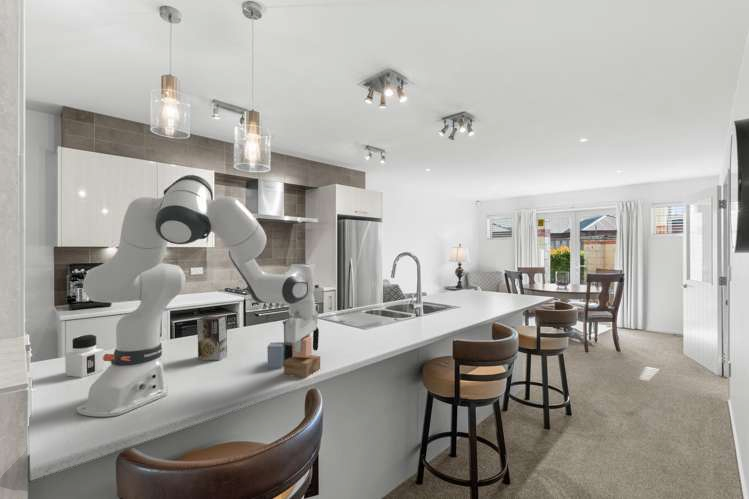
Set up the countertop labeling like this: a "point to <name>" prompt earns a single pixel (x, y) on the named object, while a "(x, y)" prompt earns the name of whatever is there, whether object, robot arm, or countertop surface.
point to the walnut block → (301, 365)
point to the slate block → (276, 355)
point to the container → (84, 357)
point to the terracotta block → (304, 347)
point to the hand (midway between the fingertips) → (302, 348)
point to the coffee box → (212, 337)
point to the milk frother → (289, 346)
